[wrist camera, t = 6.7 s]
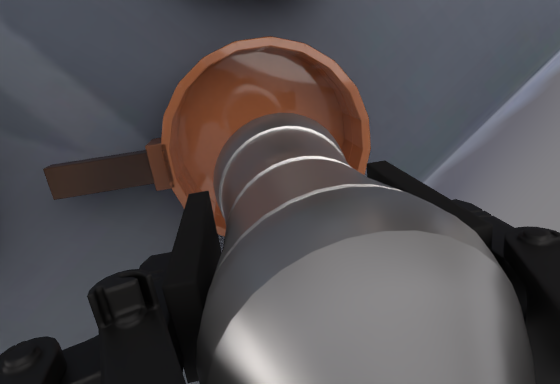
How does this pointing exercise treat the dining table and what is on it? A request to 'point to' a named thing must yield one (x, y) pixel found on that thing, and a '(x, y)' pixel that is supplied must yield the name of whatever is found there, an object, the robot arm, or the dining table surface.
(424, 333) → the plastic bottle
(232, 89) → the pan
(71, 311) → the dining table surface
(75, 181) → the pan handle
